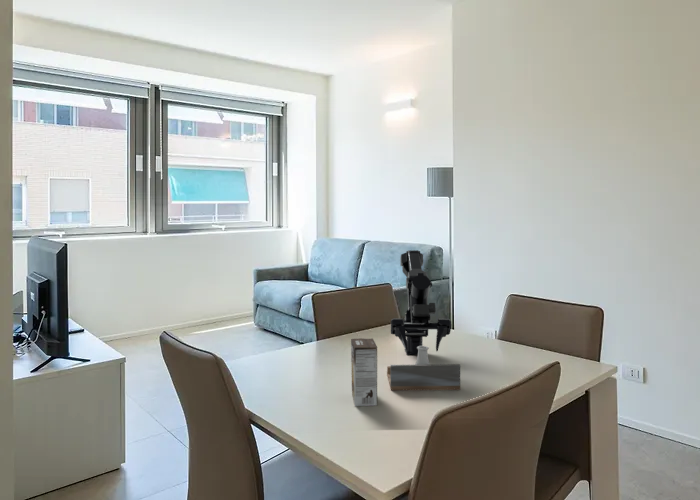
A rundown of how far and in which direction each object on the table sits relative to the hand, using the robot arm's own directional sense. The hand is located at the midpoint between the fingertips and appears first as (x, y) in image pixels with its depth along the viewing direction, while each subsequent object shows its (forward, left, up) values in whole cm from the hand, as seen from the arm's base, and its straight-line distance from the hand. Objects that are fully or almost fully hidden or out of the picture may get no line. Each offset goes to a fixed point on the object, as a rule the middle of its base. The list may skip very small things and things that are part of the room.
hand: (421, 350), depth 160 cm
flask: (+5, -1, -8) cm, 9 cm away
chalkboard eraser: (+4, 0, -9) cm, 10 cm away
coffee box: (+17, -18, -9) cm, 26 cm away
